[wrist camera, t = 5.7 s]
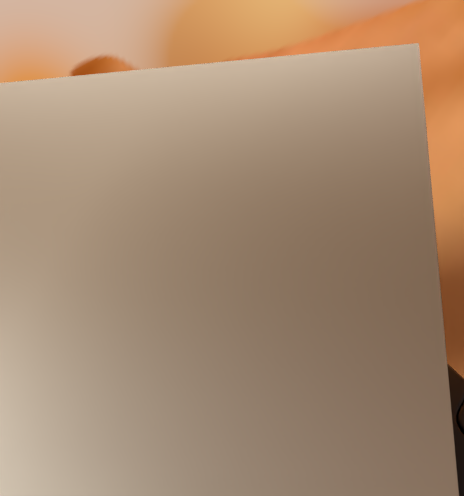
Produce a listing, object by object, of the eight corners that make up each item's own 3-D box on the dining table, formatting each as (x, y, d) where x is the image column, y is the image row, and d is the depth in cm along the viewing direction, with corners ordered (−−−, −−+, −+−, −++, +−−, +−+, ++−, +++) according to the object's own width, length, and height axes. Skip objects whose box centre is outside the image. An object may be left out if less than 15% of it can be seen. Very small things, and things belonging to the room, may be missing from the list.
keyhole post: (345, 454, 13) (700, 1339, 1) (188, 434, 15) (-399, 763, 2) (343, 291, 15) (481, -13, 3) (203, 286, 16) (-100, 58, 4)
